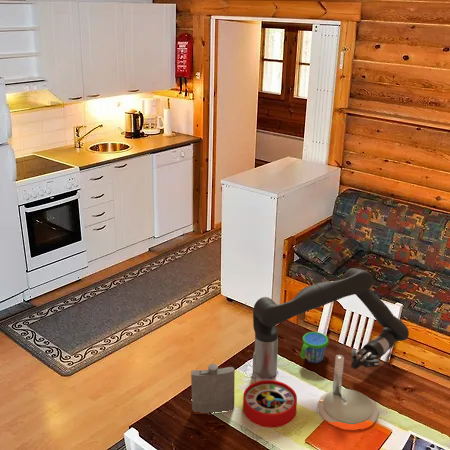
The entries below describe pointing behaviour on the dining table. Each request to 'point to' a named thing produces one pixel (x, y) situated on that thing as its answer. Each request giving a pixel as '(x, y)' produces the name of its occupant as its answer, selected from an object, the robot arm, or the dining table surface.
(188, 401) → the dining table surface
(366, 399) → the beige disc with handle
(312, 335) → the snack cup
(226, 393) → the hip flask
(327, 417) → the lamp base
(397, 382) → the dining table surface
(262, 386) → the toy clock
